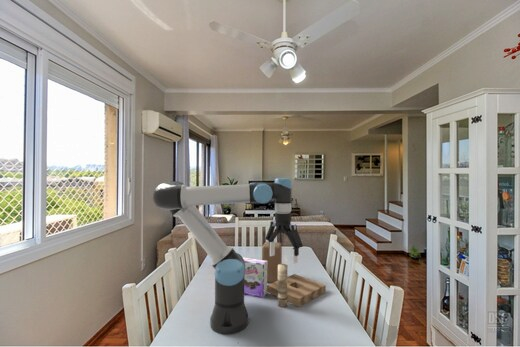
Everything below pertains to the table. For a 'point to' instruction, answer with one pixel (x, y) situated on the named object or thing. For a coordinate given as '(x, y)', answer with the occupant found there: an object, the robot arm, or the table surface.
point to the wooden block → (272, 261)
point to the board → (299, 289)
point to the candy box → (255, 277)
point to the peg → (282, 285)
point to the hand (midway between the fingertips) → (283, 259)
